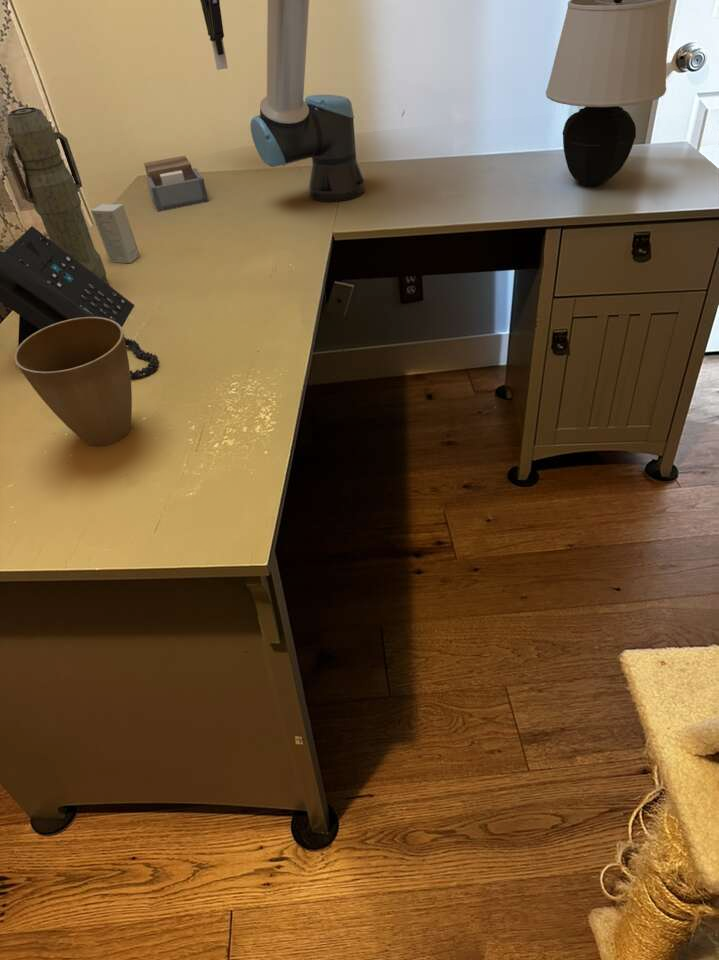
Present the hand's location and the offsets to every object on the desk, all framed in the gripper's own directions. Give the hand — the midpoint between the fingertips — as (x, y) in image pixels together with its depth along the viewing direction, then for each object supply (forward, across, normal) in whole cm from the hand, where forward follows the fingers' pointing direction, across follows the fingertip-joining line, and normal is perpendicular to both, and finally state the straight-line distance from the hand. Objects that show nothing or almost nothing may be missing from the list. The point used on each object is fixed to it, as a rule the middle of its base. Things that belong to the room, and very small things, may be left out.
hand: (222, 68), depth 177 cm
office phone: (+29, +81, -51) cm, 100 cm away
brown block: (+28, -3, -20) cm, 35 cm away
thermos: (+29, +55, -50) cm, 80 cm away
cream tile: (+24, +6, -21) cm, 33 cm away
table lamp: (+29, +64, +76) cm, 103 cm away
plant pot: (+29, +112, -53) cm, 128 cm away
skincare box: (+28, +43, -41) cm, 66 cm away
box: (+28, +9, -21) cm, 36 cm away
